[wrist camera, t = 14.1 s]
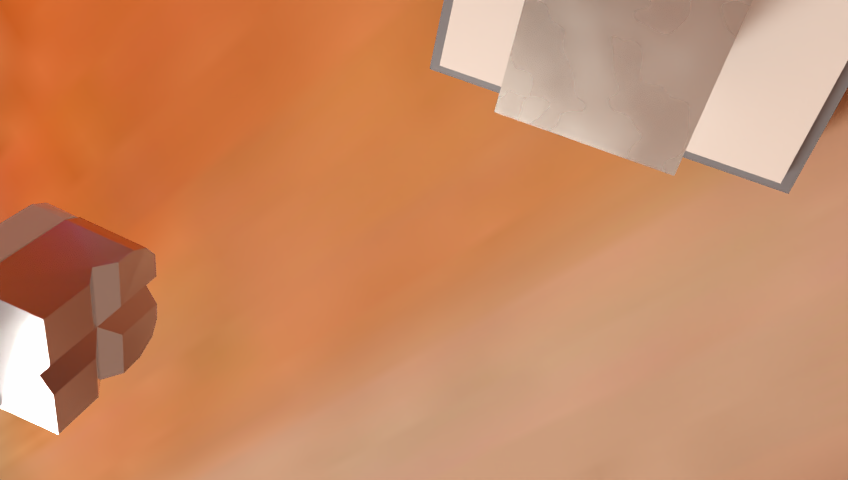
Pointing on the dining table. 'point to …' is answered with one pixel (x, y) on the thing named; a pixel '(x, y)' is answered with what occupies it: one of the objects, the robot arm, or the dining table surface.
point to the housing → (620, 71)
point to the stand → (735, 87)
